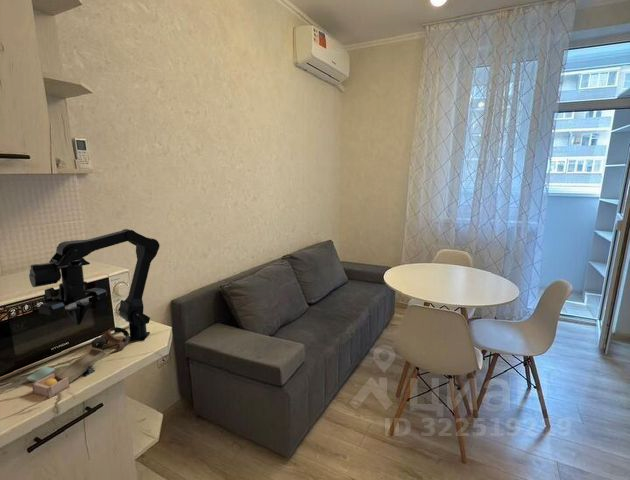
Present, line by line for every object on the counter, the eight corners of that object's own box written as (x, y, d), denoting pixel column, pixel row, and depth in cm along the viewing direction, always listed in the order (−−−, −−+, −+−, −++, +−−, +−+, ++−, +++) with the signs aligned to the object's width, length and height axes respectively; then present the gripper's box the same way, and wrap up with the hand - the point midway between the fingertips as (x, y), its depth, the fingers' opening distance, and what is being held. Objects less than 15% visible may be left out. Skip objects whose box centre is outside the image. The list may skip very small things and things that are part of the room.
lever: (76, 348, 110) (74, 343, 109) (107, 355, 106) (105, 350, 105) (28, 381, 96) (25, 376, 96) (61, 391, 92) (59, 385, 91)
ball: (45, 377, 93) (40, 388, 92) (47, 379, 91) (42, 390, 90) (57, 378, 95) (53, 389, 94) (60, 379, 93) (55, 391, 92)
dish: (53, 382, 96) (52, 373, 96) (69, 386, 94) (68, 377, 94) (33, 393, 91) (31, 383, 91) (49, 398, 89) (48, 388, 89)
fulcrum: (83, 368, 104) (82, 362, 104) (95, 371, 102) (94, 365, 102) (73, 373, 101) (73, 367, 101) (86, 376, 100) (85, 370, 99)
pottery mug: (112, 341, 123) (122, 323, 123) (126, 357, 120) (137, 338, 119) (80, 347, 112) (91, 327, 111) (95, 365, 109) (106, 345, 108)
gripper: (82, 270, 117) (86, 311, 119) (23, 285, 99) (29, 332, 102) (106, 273, 113) (109, 315, 116) (48, 289, 96) (54, 338, 98)
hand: (77, 324), depth 108 cm, fingers closed
